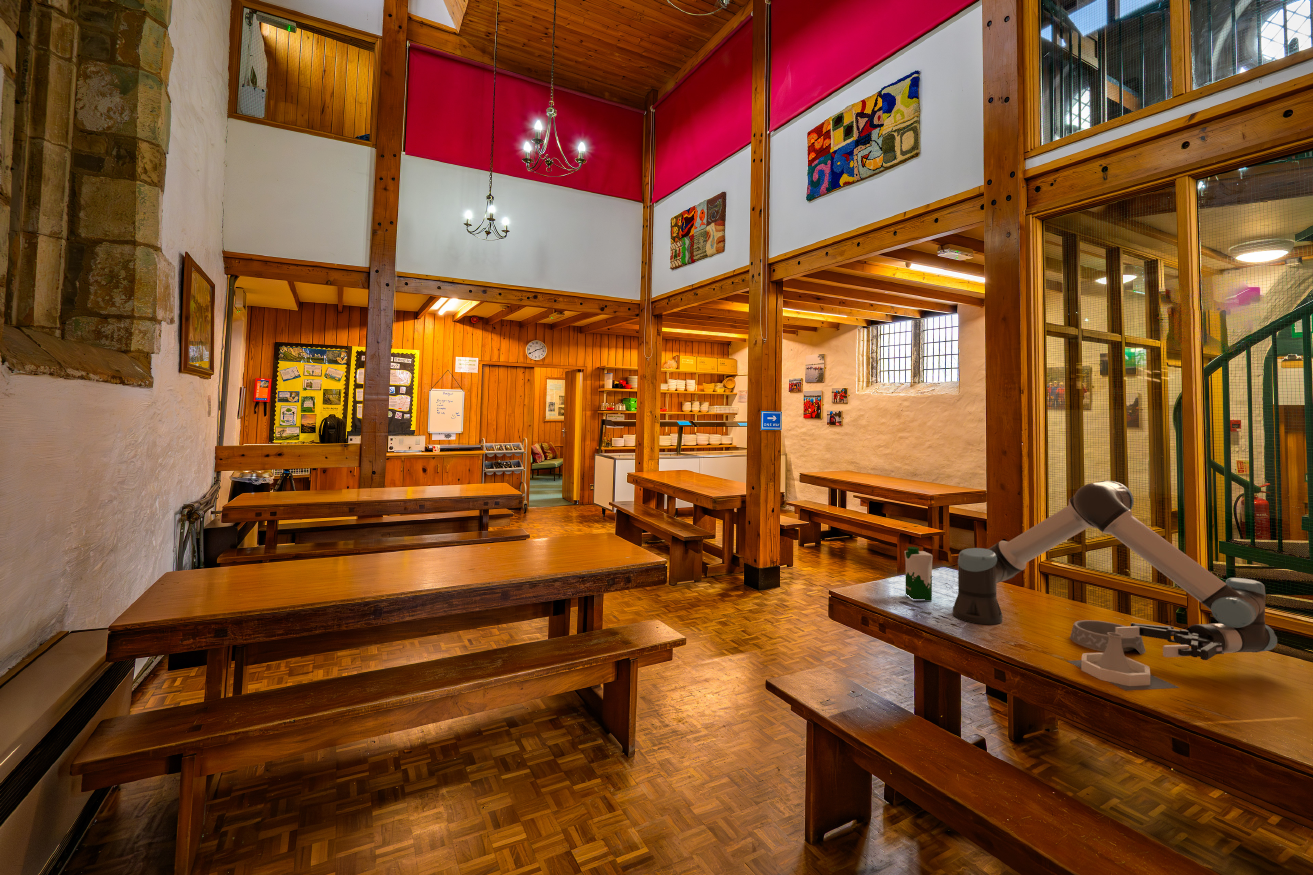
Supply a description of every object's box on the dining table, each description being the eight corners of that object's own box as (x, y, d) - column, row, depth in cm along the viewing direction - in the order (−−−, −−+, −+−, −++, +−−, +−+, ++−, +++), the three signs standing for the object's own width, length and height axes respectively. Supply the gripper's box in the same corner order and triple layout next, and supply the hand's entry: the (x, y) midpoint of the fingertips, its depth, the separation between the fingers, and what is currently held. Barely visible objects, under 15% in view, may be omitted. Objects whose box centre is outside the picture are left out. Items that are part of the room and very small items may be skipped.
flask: (1139, 678, 145) (1139, 640, 145) (1106, 675, 146) (1107, 638, 146) (1122, 666, 152) (1122, 630, 152) (1091, 664, 153) (1092, 628, 153)
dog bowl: (1056, 635, 179) (1056, 618, 179) (1115, 635, 179) (1115, 618, 178) (1097, 656, 162) (1097, 638, 162) (1161, 656, 161) (1161, 638, 161)
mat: (1066, 662, 157) (1066, 660, 157) (1115, 659, 159) (1115, 658, 159) (1125, 691, 139) (1125, 690, 139) (1179, 688, 141) (1179, 687, 141)
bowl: (1068, 663, 155) (1068, 653, 155) (1115, 661, 157) (1115, 651, 157) (1114, 686, 141) (1114, 675, 141) (1164, 684, 143) (1164, 673, 143)
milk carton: (902, 595, 222) (902, 545, 222) (925, 595, 222) (925, 545, 222) (912, 602, 213) (912, 550, 213) (935, 602, 213) (935, 550, 213)
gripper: (1265, 672, 138) (1187, 675, 137) (1166, 635, 163) (1098, 638, 162) (1266, 641, 138) (1187, 645, 137) (1166, 610, 163) (1098, 612, 162)
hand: (1139, 641), depth 149 cm, fingers open, 13 cm apart
